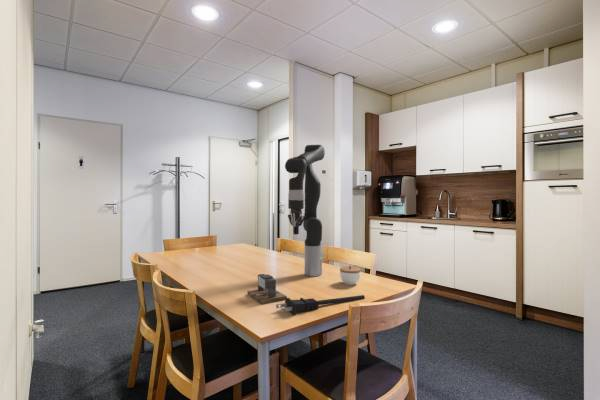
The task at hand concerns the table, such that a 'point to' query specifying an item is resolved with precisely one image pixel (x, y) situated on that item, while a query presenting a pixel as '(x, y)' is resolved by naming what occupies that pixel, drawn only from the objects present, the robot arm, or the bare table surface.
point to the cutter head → (264, 281)
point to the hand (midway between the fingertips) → (296, 234)
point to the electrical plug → (311, 303)
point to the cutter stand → (263, 296)
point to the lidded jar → (350, 274)
